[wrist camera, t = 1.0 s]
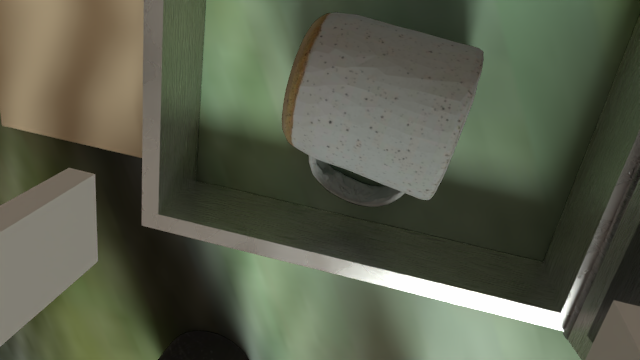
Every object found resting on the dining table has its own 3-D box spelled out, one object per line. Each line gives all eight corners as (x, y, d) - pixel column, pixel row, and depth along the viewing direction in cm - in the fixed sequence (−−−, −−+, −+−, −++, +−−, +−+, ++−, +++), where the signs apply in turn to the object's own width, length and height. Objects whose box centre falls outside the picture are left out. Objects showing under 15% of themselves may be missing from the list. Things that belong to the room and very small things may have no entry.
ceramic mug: (331, -3, 28) (293, 13, 21) (482, 38, 27) (495, 69, 20) (291, 172, 32) (250, 232, 25) (419, 211, 32) (412, 284, 25)
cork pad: (8, 123, 35) (2, 125, 34) (-14, -93, 30) (-22, -94, 29) (174, 161, 34) (170, 164, 33) (182, -59, 28) (177, -59, 28)
